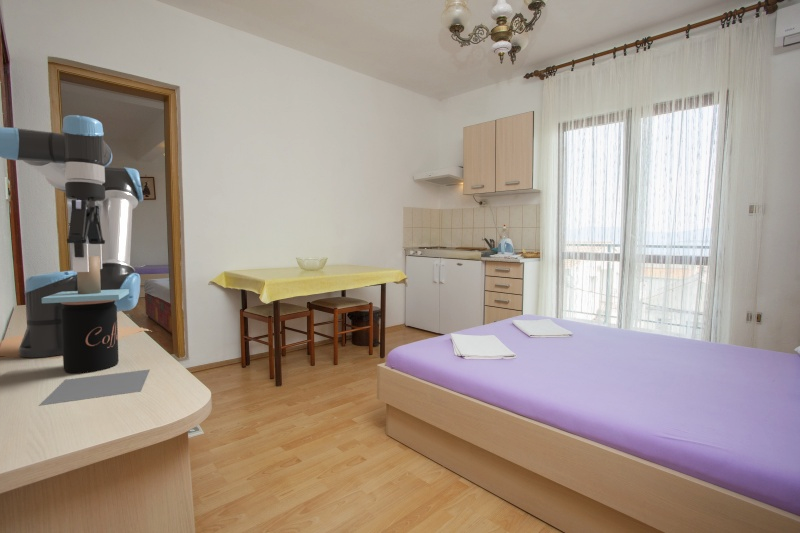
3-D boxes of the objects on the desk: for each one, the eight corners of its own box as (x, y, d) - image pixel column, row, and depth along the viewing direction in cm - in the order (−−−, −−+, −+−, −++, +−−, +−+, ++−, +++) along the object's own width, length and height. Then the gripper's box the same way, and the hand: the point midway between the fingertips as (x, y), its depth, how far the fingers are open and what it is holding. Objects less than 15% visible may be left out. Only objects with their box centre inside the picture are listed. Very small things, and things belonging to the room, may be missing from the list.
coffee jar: (88, 378, 89) (85, 301, 89) (51, 375, 92) (48, 300, 91) (129, 365, 100) (127, 295, 99) (95, 362, 102) (93, 294, 101)
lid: (62, 296, 98) (60, 256, 97) (128, 293, 104) (127, 255, 104) (41, 303, 85) (39, 257, 85) (118, 299, 92) (117, 256, 91)
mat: (65, 383, 86) (65, 379, 86) (150, 372, 94) (150, 369, 94) (38, 409, 72) (38, 405, 72) (141, 395, 79) (140, 391, 79)
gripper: (80, 188, 103) (83, 268, 104) (46, 172, 81) (51, 273, 82) (114, 190, 106) (117, 267, 107) (91, 175, 84) (95, 272, 85)
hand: (88, 270), depth 95 cm, fingers open, 13 cm apart
